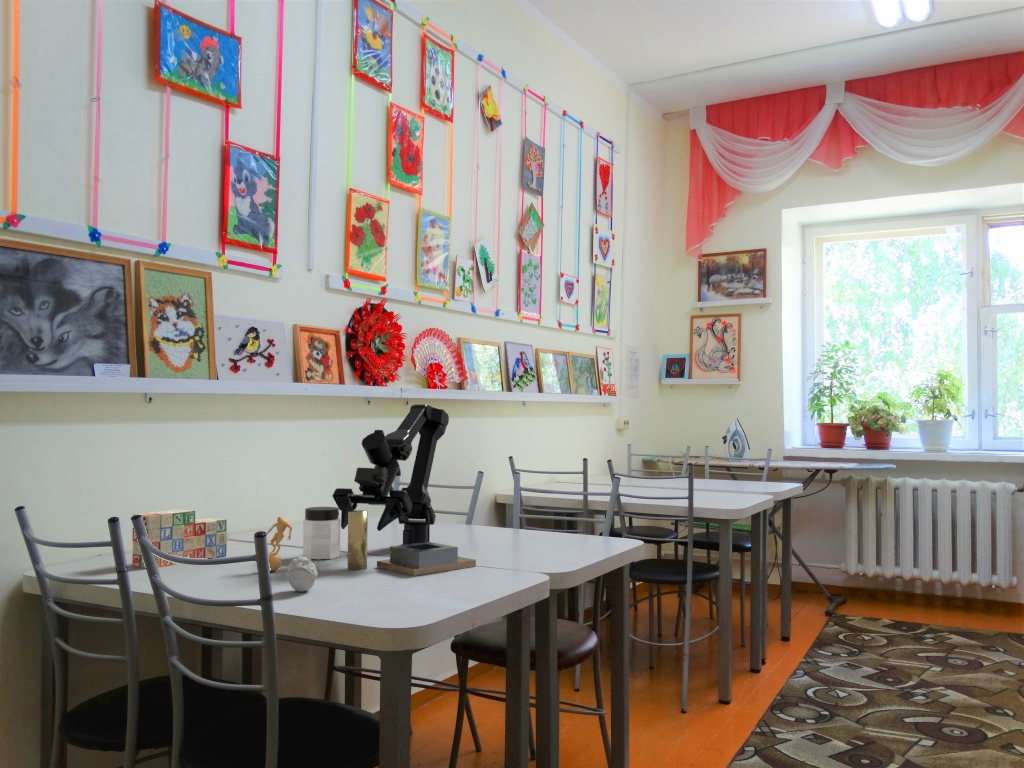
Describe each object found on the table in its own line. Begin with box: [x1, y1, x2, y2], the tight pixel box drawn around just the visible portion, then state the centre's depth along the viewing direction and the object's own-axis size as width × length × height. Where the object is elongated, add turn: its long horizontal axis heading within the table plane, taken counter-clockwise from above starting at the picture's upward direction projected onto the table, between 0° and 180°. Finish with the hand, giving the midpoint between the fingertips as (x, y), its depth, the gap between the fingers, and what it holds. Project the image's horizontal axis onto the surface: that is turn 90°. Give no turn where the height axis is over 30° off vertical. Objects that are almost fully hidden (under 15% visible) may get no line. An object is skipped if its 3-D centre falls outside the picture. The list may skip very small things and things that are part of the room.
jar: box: [302, 506, 341, 560], centre depth 207 cm, size 9×8×12 cm
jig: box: [376, 541, 477, 577], centre depth 194 cm, size 18×14×5 cm
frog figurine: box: [285, 556, 319, 593], centre depth 166 cm, size 6×7×7 cm
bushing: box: [347, 509, 369, 571], centre depth 192 cm, size 4×4×13 cm
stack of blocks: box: [131, 508, 228, 569], centre depth 200 cm, size 21×6×12 cm, turn 146°
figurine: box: [265, 516, 293, 572], centre depth 189 cm, size 8×6×12 cm
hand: (360, 528), depth 193 cm, fingers open, 9 cm apart
